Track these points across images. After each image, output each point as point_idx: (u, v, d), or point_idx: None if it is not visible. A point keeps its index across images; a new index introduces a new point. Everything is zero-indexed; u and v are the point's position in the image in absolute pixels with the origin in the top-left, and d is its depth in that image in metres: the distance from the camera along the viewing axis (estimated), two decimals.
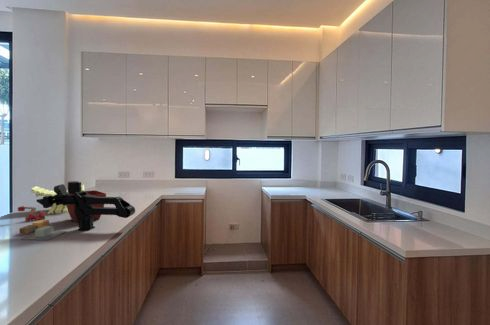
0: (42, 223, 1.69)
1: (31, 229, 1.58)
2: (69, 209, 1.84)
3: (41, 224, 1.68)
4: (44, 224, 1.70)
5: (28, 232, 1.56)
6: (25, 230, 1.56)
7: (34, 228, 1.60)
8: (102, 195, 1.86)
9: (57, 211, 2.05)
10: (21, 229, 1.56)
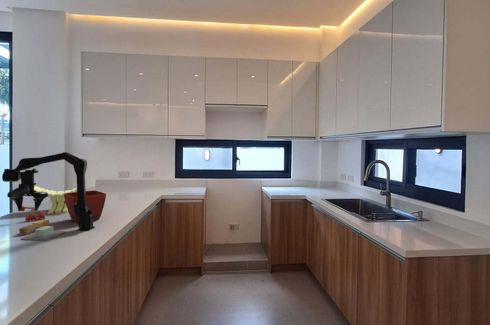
0: (42, 223, 1.69)
1: (31, 229, 1.58)
2: (69, 209, 1.84)
3: (41, 224, 1.68)
4: (44, 224, 1.70)
5: (28, 232, 1.56)
6: (25, 230, 1.56)
7: (34, 228, 1.60)
8: (102, 195, 1.86)
9: (57, 211, 2.05)
10: (21, 229, 1.56)
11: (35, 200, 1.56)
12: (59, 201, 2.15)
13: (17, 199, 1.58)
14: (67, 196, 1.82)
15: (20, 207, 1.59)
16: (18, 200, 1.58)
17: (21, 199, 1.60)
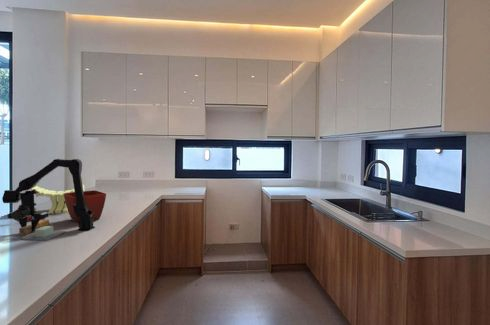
0: (42, 223, 1.69)
1: (31, 229, 1.58)
2: (69, 209, 1.84)
3: (41, 224, 1.68)
4: (44, 224, 1.70)
5: (28, 232, 1.56)
6: (25, 230, 1.56)
7: None
8: (102, 195, 1.86)
9: (57, 211, 2.05)
10: (21, 229, 1.56)
11: (32, 221, 1.57)
12: (59, 201, 2.15)
13: (21, 220, 1.58)
14: (67, 196, 1.82)
15: None
16: (22, 221, 1.59)
17: (25, 220, 1.61)
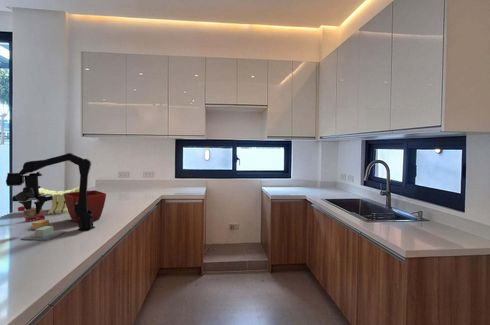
0: (42, 223, 1.69)
1: (35, 211, 1.56)
2: (69, 209, 1.84)
3: (41, 224, 1.68)
4: (44, 224, 1.70)
5: (32, 214, 1.54)
6: (29, 212, 1.54)
7: None
8: (102, 195, 1.86)
9: (57, 211, 2.05)
10: (25, 211, 1.54)
11: (36, 203, 1.55)
12: (59, 201, 2.15)
13: (26, 203, 1.56)
14: (67, 196, 1.82)
15: None
16: (27, 204, 1.57)
17: (30, 203, 1.59)
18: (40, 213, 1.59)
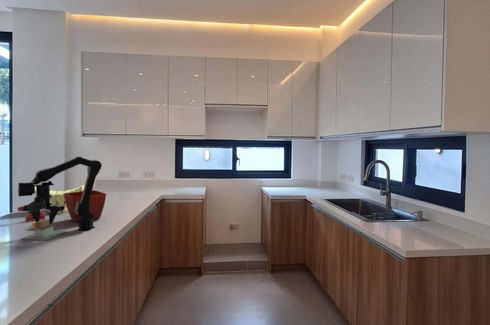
0: None
1: (47, 223, 1.53)
2: (69, 209, 1.84)
3: None
4: None
5: (43, 226, 1.51)
6: (41, 224, 1.51)
7: None
8: (102, 195, 1.86)
9: None
10: (36, 223, 1.51)
11: (50, 213, 1.51)
12: (59, 201, 2.15)
13: (35, 213, 1.53)
14: (67, 196, 1.82)
15: (38, 221, 1.55)
16: (35, 214, 1.54)
17: (38, 212, 1.56)
18: (51, 225, 1.56)
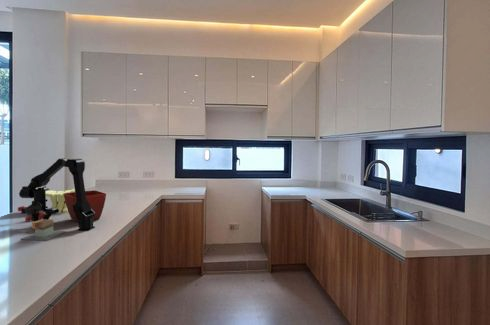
0: None
1: (47, 223, 1.53)
2: (69, 209, 1.84)
3: None
4: None
5: (43, 226, 1.51)
6: (41, 224, 1.51)
7: (49, 222, 1.55)
8: (102, 195, 1.86)
9: None
10: (36, 223, 1.51)
11: (44, 216, 1.68)
12: (59, 201, 2.15)
13: (34, 215, 1.69)
14: (67, 196, 1.82)
15: None
16: (35, 216, 1.70)
17: (37, 215, 1.72)
18: (51, 225, 1.56)
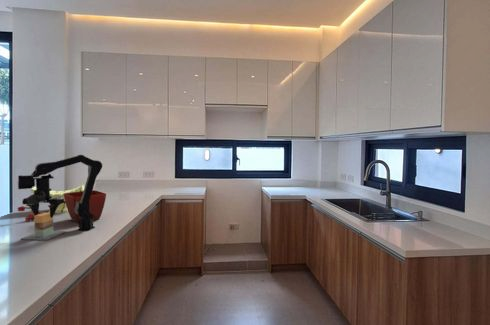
0: (45, 216, 1.52)
1: (47, 223, 1.53)
2: (69, 209, 1.84)
3: (44, 217, 1.52)
4: (47, 217, 1.54)
5: (43, 226, 1.51)
6: (41, 224, 1.51)
7: (49, 222, 1.55)
8: (102, 195, 1.86)
9: (57, 211, 2.05)
10: (36, 223, 1.51)
11: (50, 207, 1.51)
12: None
13: (33, 206, 1.53)
14: (67, 196, 1.82)
15: (36, 214, 1.55)
16: (34, 207, 1.54)
17: (37, 206, 1.56)
18: (51, 225, 1.56)
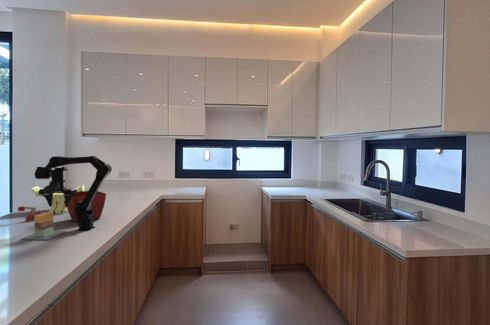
0: (45, 216, 1.52)
1: (47, 223, 1.53)
2: (69, 209, 1.84)
3: (44, 217, 1.52)
4: (47, 217, 1.54)
5: (43, 226, 1.51)
6: (41, 224, 1.51)
7: (49, 222, 1.55)
8: (102, 195, 1.86)
9: (57, 211, 2.05)
10: (36, 223, 1.51)
11: (65, 197, 1.62)
12: (59, 201, 2.15)
13: (48, 196, 1.64)
14: None
15: (50, 204, 1.65)
16: (49, 197, 1.64)
17: (51, 196, 1.66)
18: (51, 225, 1.56)
